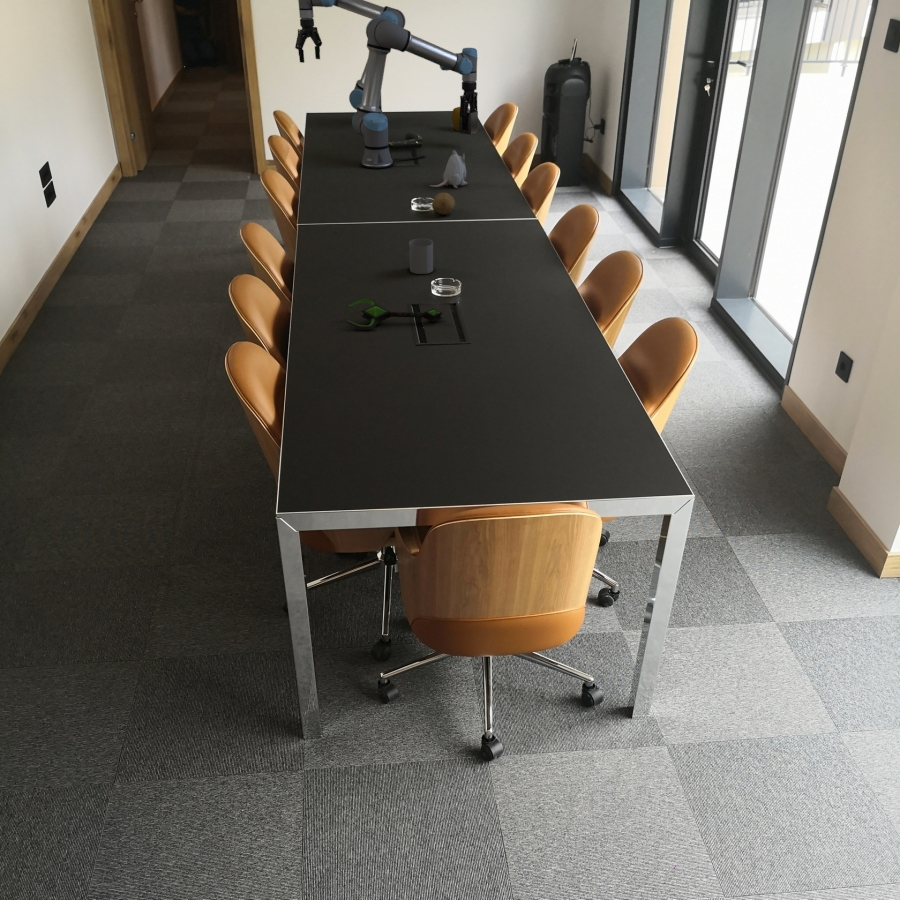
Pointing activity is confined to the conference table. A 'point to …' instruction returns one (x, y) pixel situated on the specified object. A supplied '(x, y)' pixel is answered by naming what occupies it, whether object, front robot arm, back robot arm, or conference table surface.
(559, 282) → the conference table surface
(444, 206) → the potato
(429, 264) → the cup
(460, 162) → the toy
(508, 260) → the conference table surface
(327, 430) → the conference table surface
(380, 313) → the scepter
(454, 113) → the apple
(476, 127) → the block
